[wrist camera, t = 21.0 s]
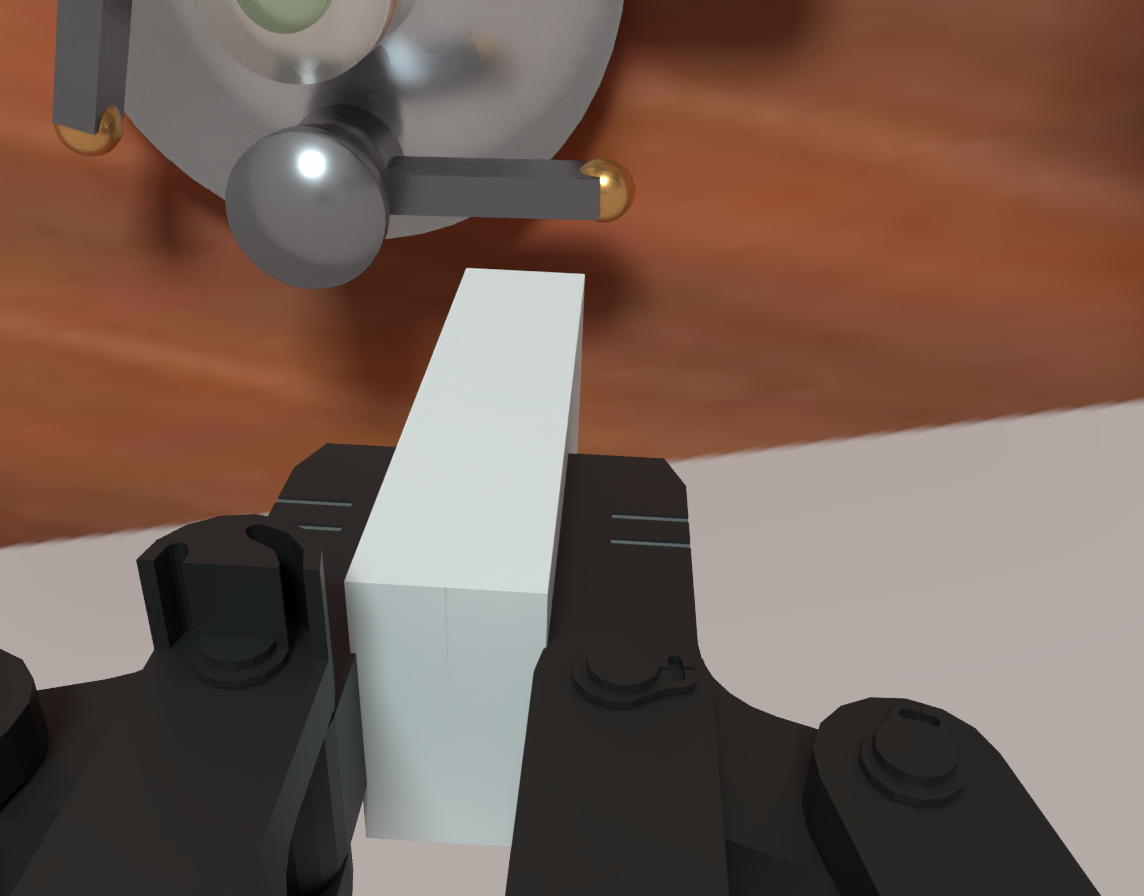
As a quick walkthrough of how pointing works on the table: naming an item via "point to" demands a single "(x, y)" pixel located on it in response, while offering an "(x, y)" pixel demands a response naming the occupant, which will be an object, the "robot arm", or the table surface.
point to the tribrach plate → (366, 75)
